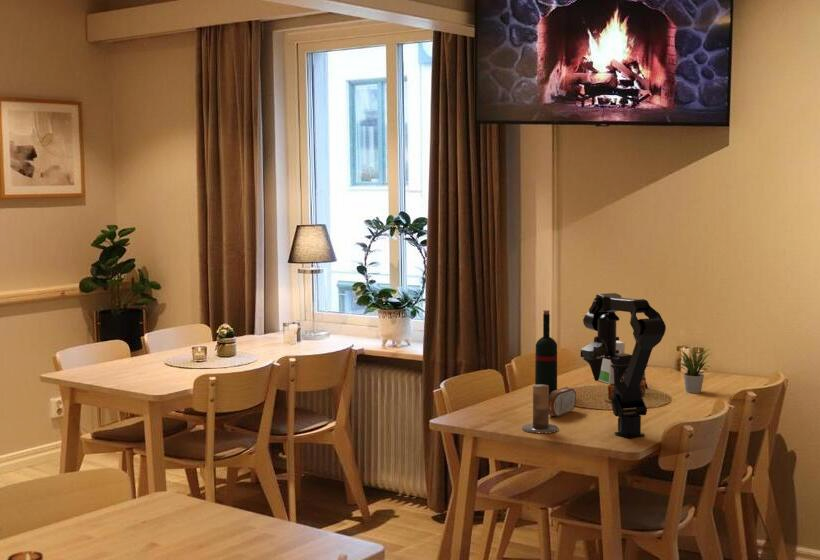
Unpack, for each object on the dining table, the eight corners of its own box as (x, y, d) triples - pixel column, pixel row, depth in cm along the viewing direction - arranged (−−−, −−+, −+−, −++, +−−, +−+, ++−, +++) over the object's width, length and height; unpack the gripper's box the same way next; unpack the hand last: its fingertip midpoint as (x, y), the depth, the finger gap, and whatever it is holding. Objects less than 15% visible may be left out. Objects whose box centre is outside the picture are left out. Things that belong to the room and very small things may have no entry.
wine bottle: (562, 392, 369) (563, 309, 366) (552, 397, 360) (552, 312, 357) (542, 390, 373) (542, 307, 370) (531, 395, 364) (531, 311, 361)
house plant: (721, 389, 371) (722, 344, 369) (713, 397, 359) (714, 350, 357) (681, 386, 377) (682, 342, 376) (672, 393, 365) (673, 348, 363)
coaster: (565, 430, 315) (565, 428, 315) (536, 435, 309) (536, 433, 309) (543, 423, 324) (543, 421, 324) (515, 427, 319) (515, 426, 319)
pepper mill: (551, 428, 316) (551, 386, 314) (539, 430, 313) (539, 388, 312) (542, 424, 320) (542, 383, 318) (529, 427, 317) (529, 385, 316)
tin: (569, 409, 343) (569, 384, 342) (577, 410, 341) (578, 385, 340) (545, 418, 331) (545, 392, 330) (553, 419, 329) (554, 393, 328)
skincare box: (596, 380, 389) (597, 339, 387) (611, 378, 392) (611, 338, 390) (610, 384, 382) (610, 343, 380) (624, 382, 384) (625, 341, 383)
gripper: (567, 332, 323) (566, 381, 325) (607, 340, 307) (606, 391, 309) (594, 329, 329) (594, 377, 330) (635, 336, 313) (634, 387, 314)
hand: (606, 383), depth 321 cm, fingers open, 9 cm apart
